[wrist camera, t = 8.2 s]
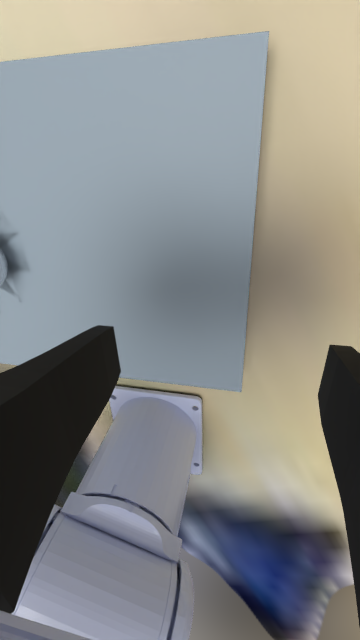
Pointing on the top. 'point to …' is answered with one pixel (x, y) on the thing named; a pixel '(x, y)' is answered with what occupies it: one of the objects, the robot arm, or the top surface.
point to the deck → (133, 203)
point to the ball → (3, 267)
